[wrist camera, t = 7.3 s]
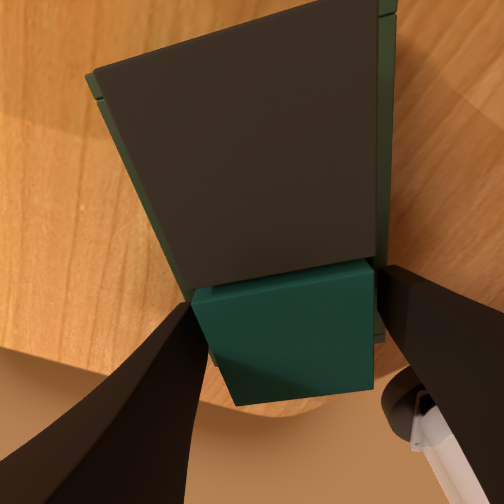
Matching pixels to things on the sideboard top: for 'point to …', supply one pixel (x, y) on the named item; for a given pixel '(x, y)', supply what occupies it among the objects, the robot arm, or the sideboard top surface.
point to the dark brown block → (258, 141)
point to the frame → (384, 157)
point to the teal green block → (292, 332)
